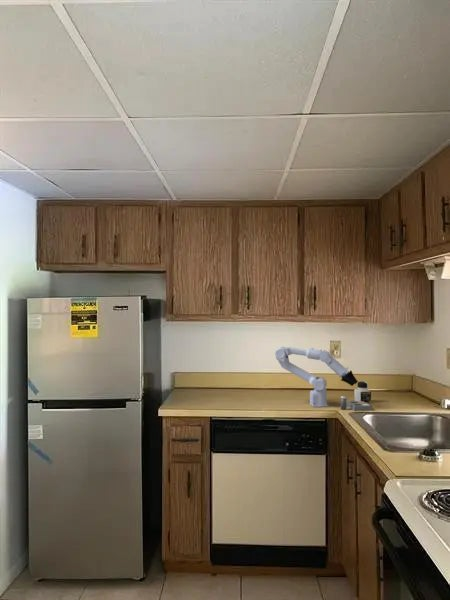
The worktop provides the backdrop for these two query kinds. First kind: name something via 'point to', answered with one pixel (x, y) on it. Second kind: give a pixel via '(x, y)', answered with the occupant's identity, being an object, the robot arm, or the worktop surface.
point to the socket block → (358, 405)
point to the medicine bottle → (363, 392)
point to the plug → (343, 403)
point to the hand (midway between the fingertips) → (355, 383)
